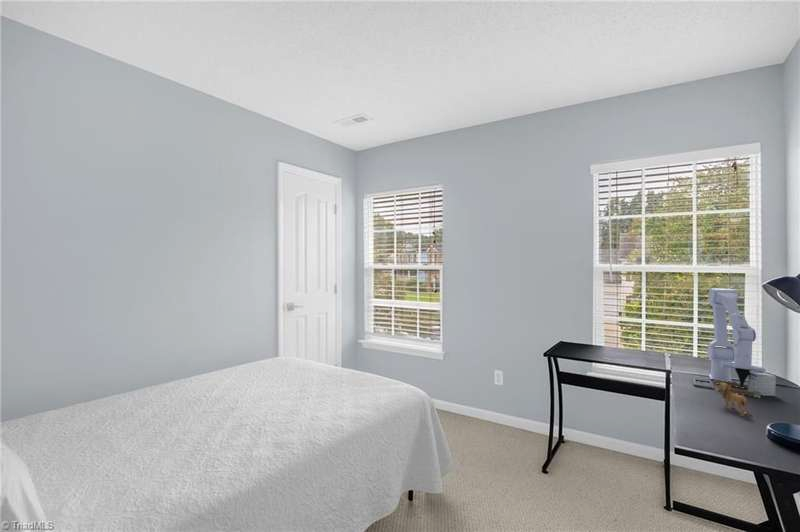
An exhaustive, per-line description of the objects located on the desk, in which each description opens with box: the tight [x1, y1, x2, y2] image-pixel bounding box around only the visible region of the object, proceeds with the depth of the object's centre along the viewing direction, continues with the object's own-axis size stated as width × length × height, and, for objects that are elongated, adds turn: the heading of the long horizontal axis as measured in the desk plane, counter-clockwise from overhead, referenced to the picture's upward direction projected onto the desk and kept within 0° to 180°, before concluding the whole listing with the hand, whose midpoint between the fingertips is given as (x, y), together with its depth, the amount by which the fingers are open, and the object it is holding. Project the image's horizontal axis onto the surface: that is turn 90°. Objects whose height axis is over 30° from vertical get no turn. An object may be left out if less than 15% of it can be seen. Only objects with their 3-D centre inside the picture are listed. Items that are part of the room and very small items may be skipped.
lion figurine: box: [714, 383, 754, 418], centre depth 145 cm, size 15×5×9 cm, turn 1°
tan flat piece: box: [713, 379, 761, 399], centre depth 171 cm, size 14×14×2 cm
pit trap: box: [692, 378, 715, 390], centre depth 177 cm, size 11×7×1 cm, turn 145°
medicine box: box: [747, 372, 777, 397], centre depth 166 cm, size 8×4×9 cm, turn 87°
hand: (741, 386), depth 170 cm, fingers closed
